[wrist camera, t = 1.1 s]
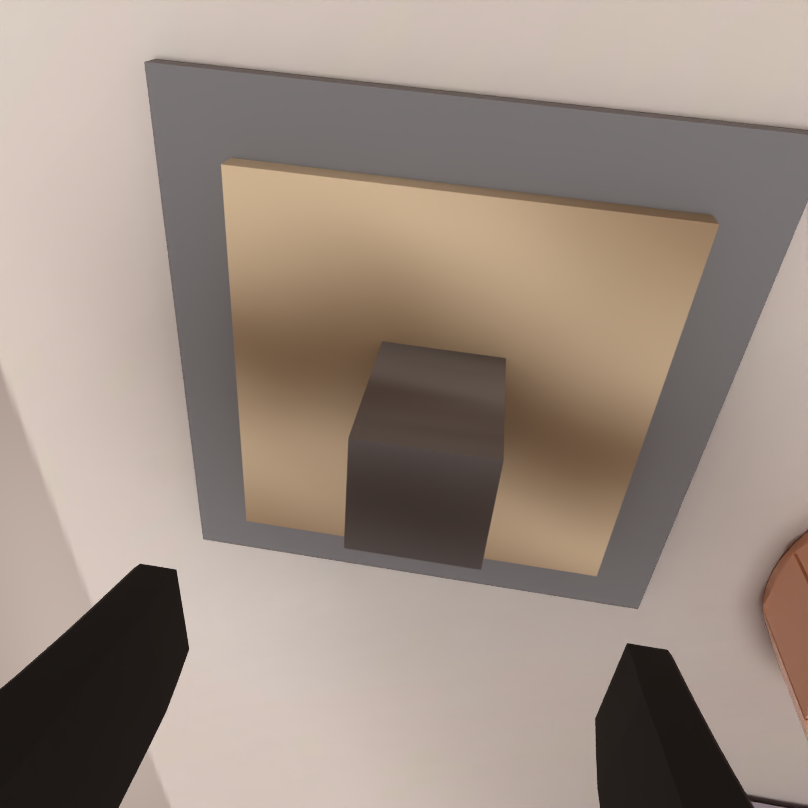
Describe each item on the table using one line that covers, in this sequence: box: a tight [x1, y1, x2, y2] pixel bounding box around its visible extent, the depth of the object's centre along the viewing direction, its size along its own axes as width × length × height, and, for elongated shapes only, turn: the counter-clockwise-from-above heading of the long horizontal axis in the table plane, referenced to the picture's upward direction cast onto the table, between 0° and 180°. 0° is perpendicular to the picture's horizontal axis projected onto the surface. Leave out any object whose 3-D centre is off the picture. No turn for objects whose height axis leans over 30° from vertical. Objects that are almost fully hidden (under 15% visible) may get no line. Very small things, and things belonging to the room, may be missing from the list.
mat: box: [144, 59, 808, 609], centre depth 18 cm, size 14×14×1 cm
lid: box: [221, 158, 719, 576], centre depth 16 cm, size 10×10×5 cm
